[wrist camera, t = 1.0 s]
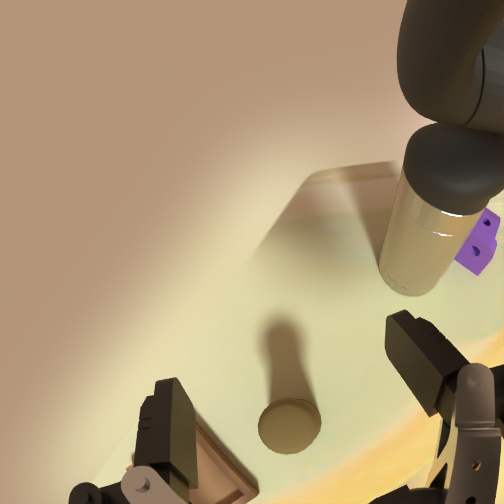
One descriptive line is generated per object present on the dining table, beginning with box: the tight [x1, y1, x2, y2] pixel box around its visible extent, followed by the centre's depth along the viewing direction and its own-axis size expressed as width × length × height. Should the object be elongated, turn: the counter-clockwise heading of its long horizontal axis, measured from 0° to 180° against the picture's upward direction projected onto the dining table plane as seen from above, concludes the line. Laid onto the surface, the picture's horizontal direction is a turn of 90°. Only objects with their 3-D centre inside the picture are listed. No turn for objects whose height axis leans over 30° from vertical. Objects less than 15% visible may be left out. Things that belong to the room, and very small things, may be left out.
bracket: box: [454, 208, 500, 276], centre depth 35 cm, size 12×7×7 cm, turn 136°
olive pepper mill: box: [258, 398, 321, 454], centre depth 26 cm, size 6×6×11 cm
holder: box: [126, 423, 259, 504], centre depth 28 cm, size 12×12×2 cm
